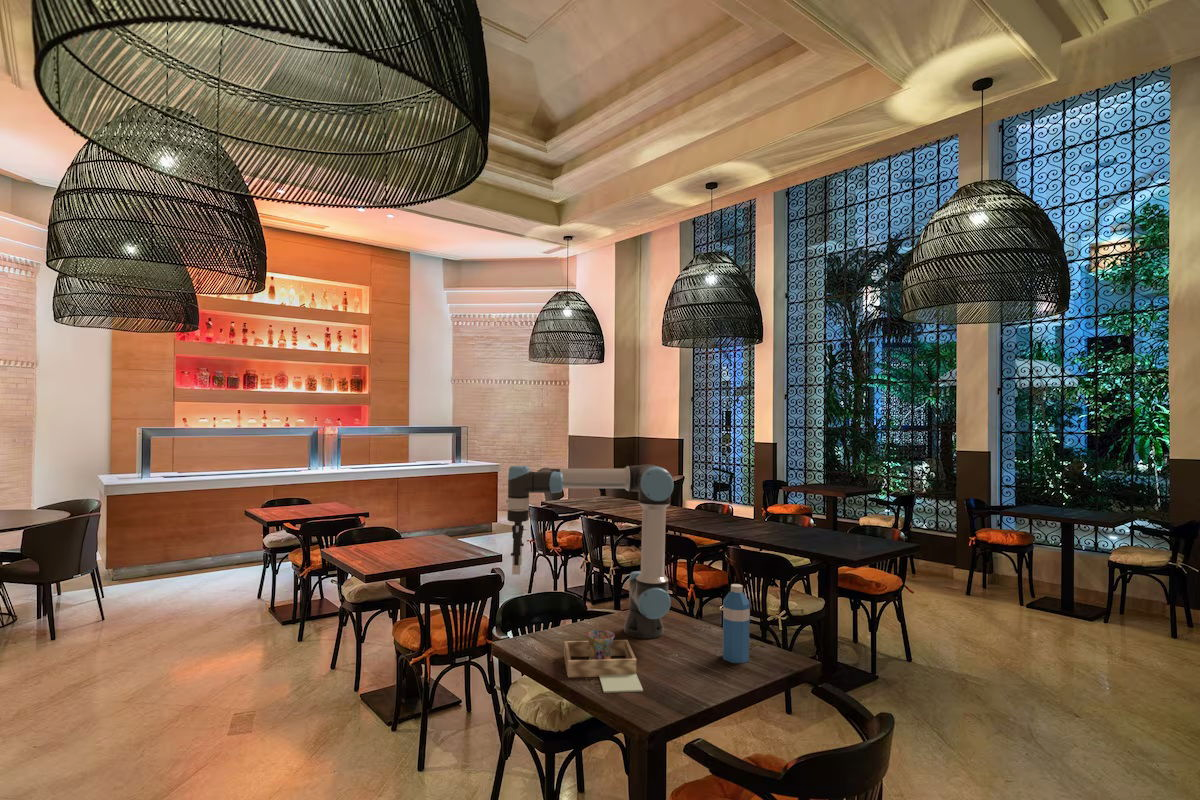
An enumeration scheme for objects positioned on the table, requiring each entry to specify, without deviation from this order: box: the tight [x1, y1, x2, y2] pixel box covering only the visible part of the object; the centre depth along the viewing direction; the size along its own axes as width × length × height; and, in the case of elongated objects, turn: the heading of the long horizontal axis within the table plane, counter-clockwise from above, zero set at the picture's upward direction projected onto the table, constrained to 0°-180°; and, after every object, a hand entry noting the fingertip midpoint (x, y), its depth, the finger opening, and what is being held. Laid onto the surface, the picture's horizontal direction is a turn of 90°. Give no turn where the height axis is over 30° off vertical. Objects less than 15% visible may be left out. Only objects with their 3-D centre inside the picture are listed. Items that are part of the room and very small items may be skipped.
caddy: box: [563, 639, 637, 678], centre depth 215 cm, size 22×18×5 cm
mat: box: [599, 673, 644, 694], centre depth 200 cm, size 12×12×1 cm
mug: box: [586, 629, 616, 660], centre depth 215 cm, size 12×9×11 cm
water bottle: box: [722, 583, 751, 664], centre depth 224 cm, size 9×9×25 cm
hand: (517, 569), depth 229 cm, fingers open, 13 cm apart
